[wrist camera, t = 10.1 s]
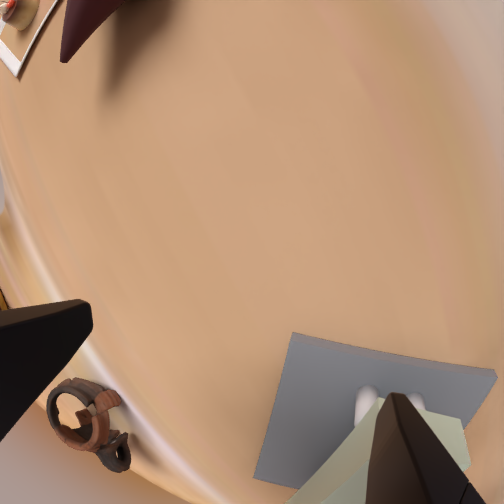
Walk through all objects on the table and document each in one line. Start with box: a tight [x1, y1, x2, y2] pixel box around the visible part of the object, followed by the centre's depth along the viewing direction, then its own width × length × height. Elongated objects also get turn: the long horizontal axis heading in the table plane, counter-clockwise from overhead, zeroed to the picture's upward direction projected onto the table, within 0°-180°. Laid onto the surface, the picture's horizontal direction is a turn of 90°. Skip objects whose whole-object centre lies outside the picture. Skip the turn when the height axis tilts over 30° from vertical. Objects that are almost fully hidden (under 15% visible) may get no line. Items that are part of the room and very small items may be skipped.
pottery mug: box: [46, 378, 131, 473], centre depth 28 cm, size 12×10×8 cm
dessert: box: [0, 0, 58, 77], centre depth 18 cm, size 12×12×5 cm
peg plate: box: [253, 332, 498, 489], centre depth 20 cm, size 16×18×4 cm
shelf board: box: [284, 397, 471, 504], centre depth 16 cm, size 6×16×4 cm, turn 164°
